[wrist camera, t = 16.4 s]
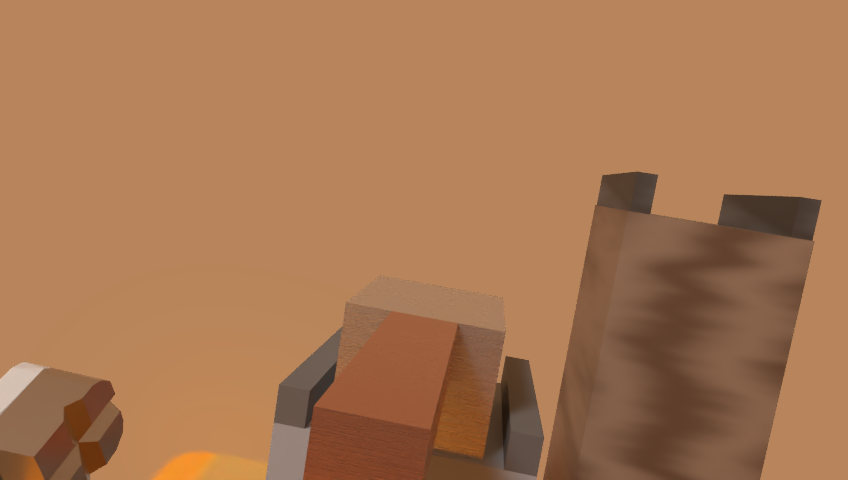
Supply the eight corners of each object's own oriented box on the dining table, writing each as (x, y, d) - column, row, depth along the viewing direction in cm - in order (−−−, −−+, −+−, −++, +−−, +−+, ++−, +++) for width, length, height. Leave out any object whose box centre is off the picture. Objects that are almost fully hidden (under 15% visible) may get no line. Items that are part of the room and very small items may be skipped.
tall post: (673, 592, 44) (758, 200, 41) (741, 744, 32) (868, 206, 29) (505, 555, 45) (576, 171, 42) (509, 688, 33) (608, 165, 30)
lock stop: (485, 397, 30) (502, 297, 29) (473, 670, 13) (514, 446, 13) (364, 374, 30) (380, 275, 30) (206, 606, 14) (234, 389, 13)
